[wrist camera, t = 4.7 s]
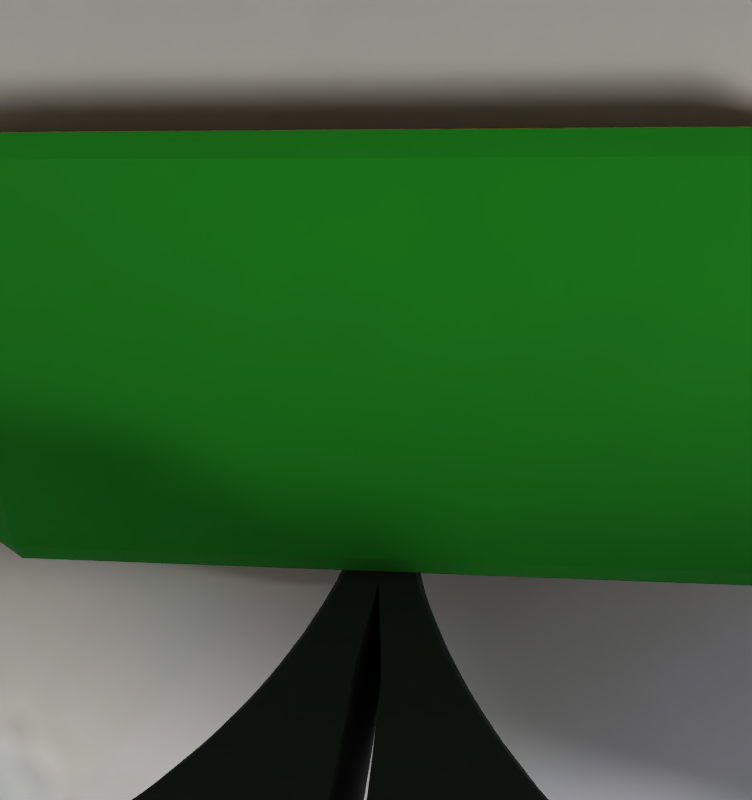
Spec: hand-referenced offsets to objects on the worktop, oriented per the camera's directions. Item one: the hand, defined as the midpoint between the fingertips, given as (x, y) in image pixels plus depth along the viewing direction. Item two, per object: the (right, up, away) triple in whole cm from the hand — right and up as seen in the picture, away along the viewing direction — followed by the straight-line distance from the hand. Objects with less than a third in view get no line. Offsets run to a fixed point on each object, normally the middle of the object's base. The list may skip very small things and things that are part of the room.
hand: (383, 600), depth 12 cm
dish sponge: (0, +5, 0) cm, 5 cm away
